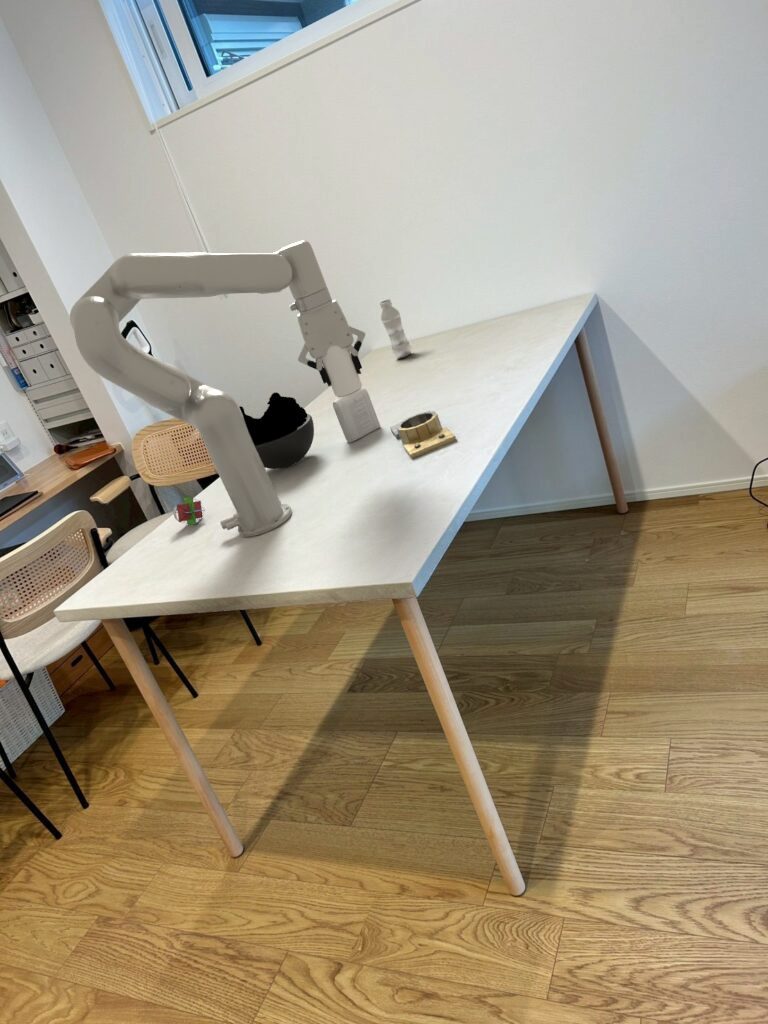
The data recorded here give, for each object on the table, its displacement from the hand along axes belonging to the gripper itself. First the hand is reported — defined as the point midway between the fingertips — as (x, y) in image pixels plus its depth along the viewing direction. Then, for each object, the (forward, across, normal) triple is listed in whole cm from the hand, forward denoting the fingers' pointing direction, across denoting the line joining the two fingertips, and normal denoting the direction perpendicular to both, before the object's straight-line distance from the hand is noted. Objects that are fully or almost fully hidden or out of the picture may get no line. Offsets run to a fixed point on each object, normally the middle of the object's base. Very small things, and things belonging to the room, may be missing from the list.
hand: (344, 378), depth 174 cm
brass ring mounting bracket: (+21, +13, +7) cm, 26 cm away
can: (+3, 0, 0) cm, 3 cm away
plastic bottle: (+22, +27, +96) cm, 102 cm away
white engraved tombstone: (+22, +1, +27) cm, 35 cm away
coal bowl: (+22, -20, +27) cm, 40 cm away
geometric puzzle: (+22, -46, +12) cm, 52 cm away
